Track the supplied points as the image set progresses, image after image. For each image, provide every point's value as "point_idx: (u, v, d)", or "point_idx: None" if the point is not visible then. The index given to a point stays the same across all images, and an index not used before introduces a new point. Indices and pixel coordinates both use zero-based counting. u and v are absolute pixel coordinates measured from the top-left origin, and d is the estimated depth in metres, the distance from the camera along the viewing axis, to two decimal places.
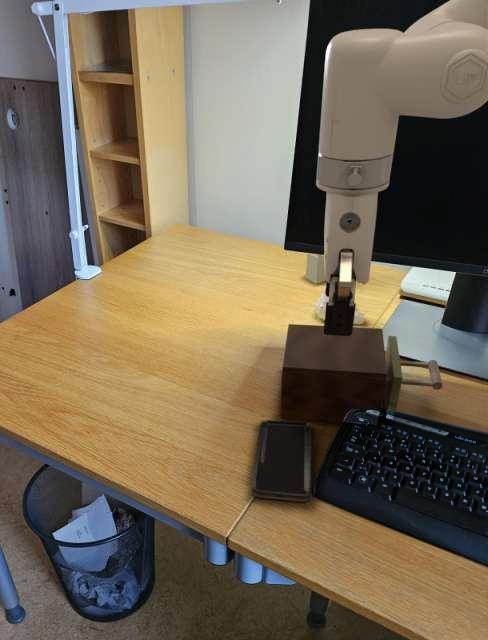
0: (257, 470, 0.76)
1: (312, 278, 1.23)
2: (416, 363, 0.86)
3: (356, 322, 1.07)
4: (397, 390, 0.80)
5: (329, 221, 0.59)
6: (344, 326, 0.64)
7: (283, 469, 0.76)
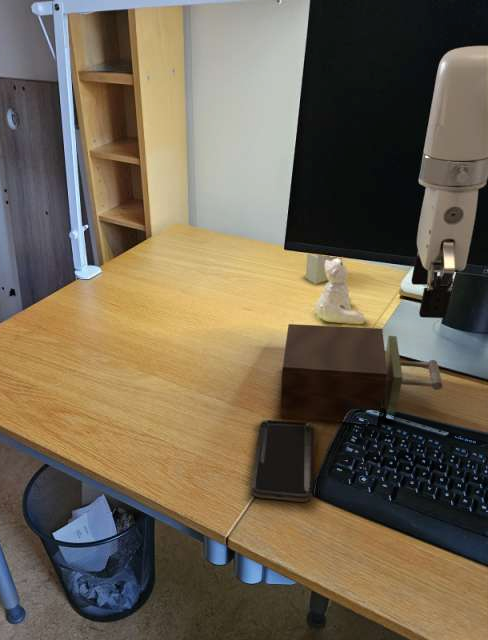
0: (257, 470, 0.76)
1: (312, 278, 1.23)
2: (416, 363, 0.86)
3: (356, 322, 1.07)
4: (397, 390, 0.80)
5: (433, 215, 0.66)
6: (440, 309, 0.71)
7: (283, 469, 0.76)
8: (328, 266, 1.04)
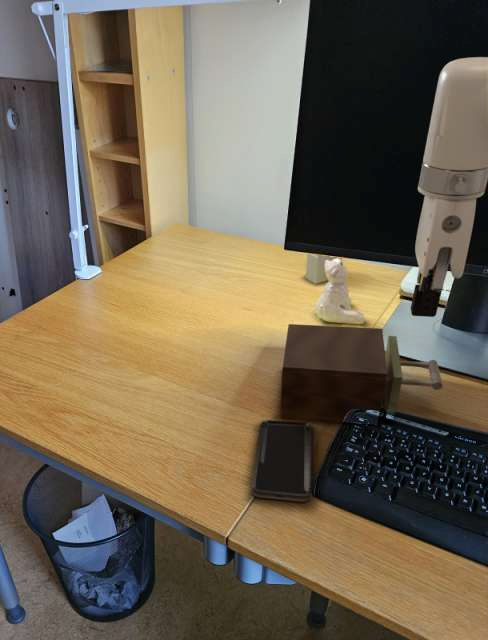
0: (257, 470, 0.76)
1: (312, 278, 1.23)
2: (416, 363, 0.86)
3: (356, 322, 1.07)
4: (397, 390, 0.80)
5: (432, 223, 0.67)
6: (431, 308, 0.76)
7: (283, 469, 0.76)
8: (328, 266, 1.04)
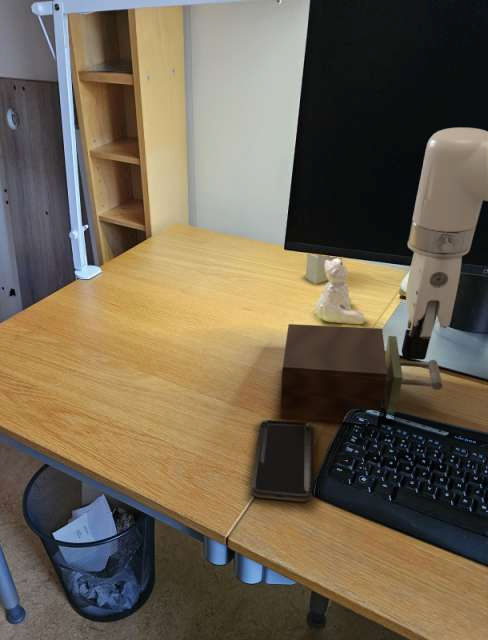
0: (257, 470, 0.76)
1: (312, 278, 1.23)
2: (416, 363, 0.86)
3: (356, 322, 1.07)
4: (397, 390, 0.80)
5: (420, 278, 0.71)
6: (420, 352, 0.80)
7: (283, 469, 0.76)
8: (328, 266, 1.04)
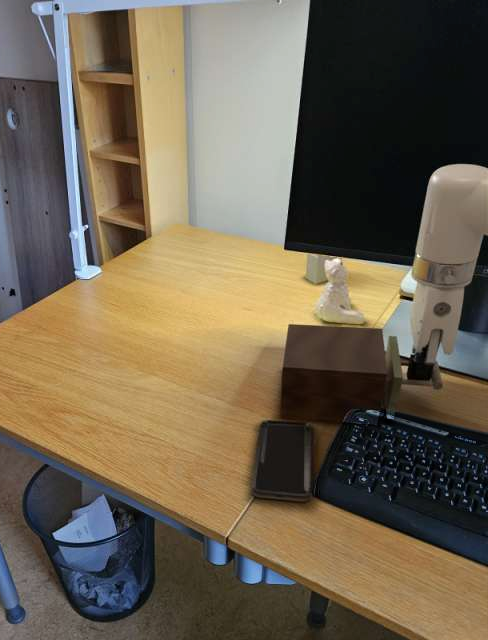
0: (257, 470, 0.76)
1: (312, 278, 1.23)
2: None
3: (356, 322, 1.07)
4: (397, 390, 0.80)
5: (424, 307, 0.73)
6: (425, 376, 0.83)
7: (283, 469, 0.76)
8: (328, 266, 1.04)
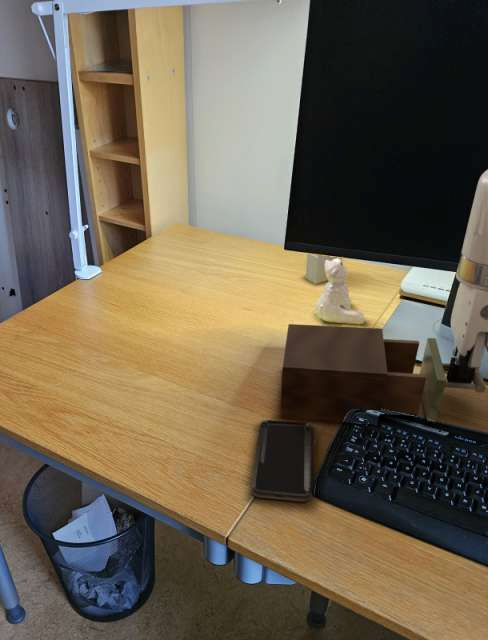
0: (257, 470, 0.76)
1: (312, 278, 1.23)
2: None
3: (356, 322, 1.07)
4: (440, 393, 0.79)
5: (470, 310, 0.72)
6: (466, 380, 0.81)
7: (283, 469, 0.76)
8: (328, 266, 1.04)
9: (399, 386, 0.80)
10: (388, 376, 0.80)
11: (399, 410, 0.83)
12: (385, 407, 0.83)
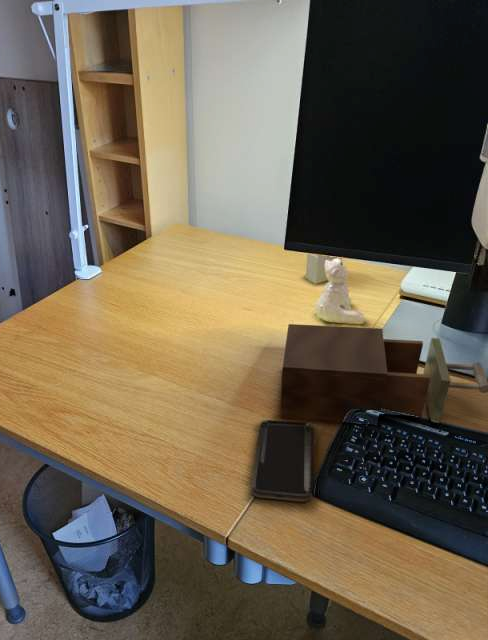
0: (257, 470, 0.76)
1: (312, 278, 1.23)
2: (460, 366, 0.84)
3: (356, 322, 1.07)
4: (444, 393, 0.79)
5: None
6: None
7: (283, 469, 0.76)
8: (328, 266, 1.04)
9: (403, 386, 0.80)
10: (392, 376, 0.80)
11: (403, 410, 0.83)
12: (389, 407, 0.83)
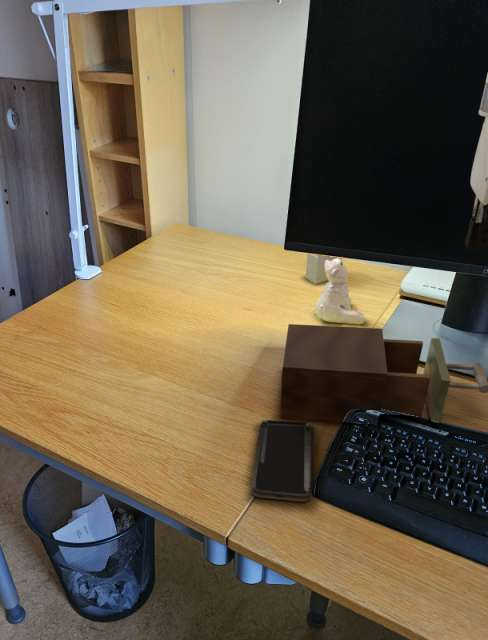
0: (257, 470, 0.76)
1: (312, 278, 1.23)
2: (460, 366, 0.84)
3: (356, 322, 1.07)
4: (444, 393, 0.79)
5: None
6: (487, 241, 0.75)
7: (283, 469, 0.76)
8: (328, 266, 1.04)
9: (403, 386, 0.80)
10: (392, 376, 0.80)
11: (403, 410, 0.83)
12: (389, 407, 0.83)
